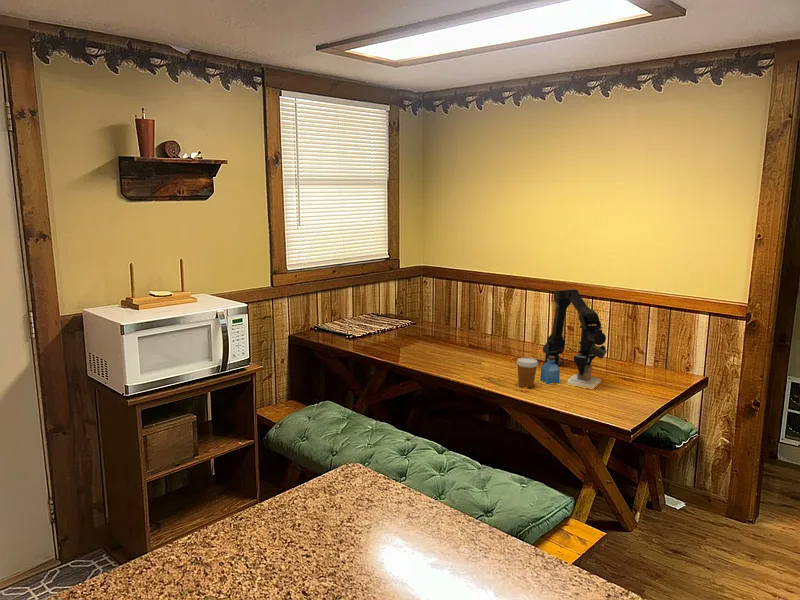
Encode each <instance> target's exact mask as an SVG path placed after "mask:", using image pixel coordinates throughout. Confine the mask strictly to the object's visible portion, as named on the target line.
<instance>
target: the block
mask: <svg viewBox="0 0 800 600" xmlns="http://www.w3.org/2000/svg"><path fill="white" fill-rule="evenodd" d="M577 374H578V375H577V379H578V380H584V381H589V380H590V379H591V377H592V374H593V365H586V367H585V371H584V374H583V376H581V375H580V372H579V370H578V369H577Z"/></svg>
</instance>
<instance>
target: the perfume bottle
mask: <svg viewBox="0 0 800 600" xmlns="http://www.w3.org/2000/svg"><path fill="white" fill-rule="evenodd" d="M547 362H548V363H545V362H544V363H543V364H542V366H541V367H540V379H539V380H541V382H542V381H543V382H542V383H544V382H545V383H546V384H545V383H544V384H545V385H547V384H548V385H551V384H550V383H559V384H560V376H561V370H560V368H559V365H558V366H557V365H556V364H554V362H555V357H554V356H548V359H547Z"/></svg>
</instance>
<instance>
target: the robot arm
mask: <svg viewBox="0 0 800 600" xmlns="http://www.w3.org/2000/svg"><path fill="white" fill-rule="evenodd" d="M553 302H554V305H555V311H554V312H555V313H554V319H553V325H552V332H551V334H550V335H549V336H547V339H546V342H545V344H544V345H543V347H542V353H544V354H545V358H544V363H548V362H547V359H548V356H554V357H555V362H554V364H556V365H557V366H558V367H559V366H560V365H561V356H560V354H561V355H562V354H563V353H564V350H565V346H566V345H565V343H566V340H565V339H564V337H563V331H564V326H565V318H566V315H567V314H566V313H567V309H568V307H569V306H570V305H571V304H572V306H573V307H574V309H575V310H576V311H577V313H578V320H579V322H580V325H579V328H580V329H581V330H580V331H581V332H580V341H579V342H578V343H579V350H578V353H576V354H575V356H573V362H574V363H575V366H576V367H577V371H578V370H579V372H580V375H581V376H583V374H584V371H585V367H586V365H590V366H592V362H593V360H594V359H595V358H596V357H597V358H598V359H601V360H603V358H605V356H606V354H607V353H608V352H607V349H606V346H605V345H604V344H605V342H606V340H607V337H606V334H605V333H604V332H603V329H602V323H601V321H600V317H599V315H598V313H597V312H596V311H595V310H594V309H593V308H590V307H588V305H587V304H586V302H585V301H584V299H583V298H582V296H581V294H580V293H579V290H578V289H576V288H575V289H574V288H572V289H557V290H555V291H554V293H553Z"/></svg>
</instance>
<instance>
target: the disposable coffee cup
mask: <svg viewBox="0 0 800 600" xmlns="http://www.w3.org/2000/svg"><path fill="white" fill-rule="evenodd" d="M516 365H517V377H518V387H520V386H522V387H532V388H533V387H534V385H535V384H534V382H535V379H536V372H537V368H538V365H539V363H538V360H537V359H535V358H531V357H519V358H517V361H516ZM522 387H521V388H522Z"/></svg>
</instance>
